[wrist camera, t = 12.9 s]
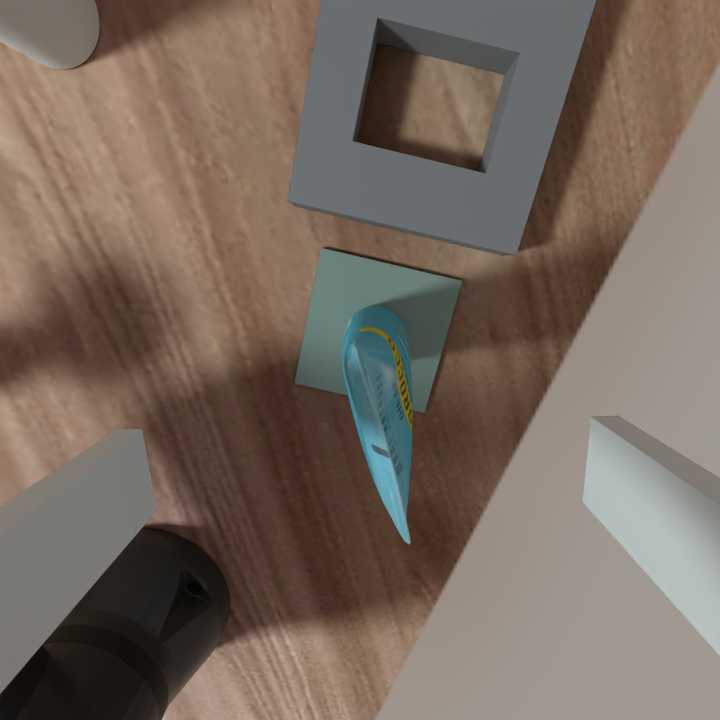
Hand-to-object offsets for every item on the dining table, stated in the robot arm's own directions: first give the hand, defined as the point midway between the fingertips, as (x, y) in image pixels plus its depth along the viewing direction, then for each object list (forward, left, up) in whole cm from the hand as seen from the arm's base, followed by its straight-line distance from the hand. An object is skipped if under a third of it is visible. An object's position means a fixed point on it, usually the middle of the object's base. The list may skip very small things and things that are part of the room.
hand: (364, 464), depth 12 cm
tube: (0, 0, -21) cm, 21 cm away
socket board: (+16, 0, -21) cm, 27 cm away
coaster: (0, 0, -21) cm, 21 cm away
